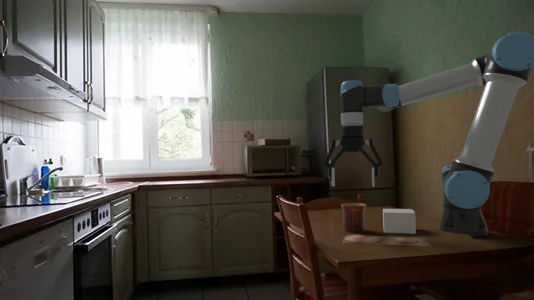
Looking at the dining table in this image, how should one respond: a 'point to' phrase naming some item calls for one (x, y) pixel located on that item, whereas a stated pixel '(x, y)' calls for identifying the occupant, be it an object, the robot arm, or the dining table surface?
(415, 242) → the board
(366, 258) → the dining table surface
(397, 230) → the white rectangular block
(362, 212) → the mug
